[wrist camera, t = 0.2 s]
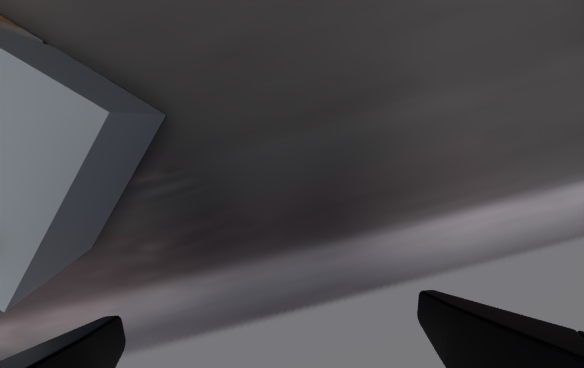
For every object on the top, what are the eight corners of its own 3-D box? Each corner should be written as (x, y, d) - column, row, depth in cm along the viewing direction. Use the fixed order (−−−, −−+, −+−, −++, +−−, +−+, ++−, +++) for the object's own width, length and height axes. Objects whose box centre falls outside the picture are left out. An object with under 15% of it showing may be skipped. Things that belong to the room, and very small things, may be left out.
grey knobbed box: (53, 46, 19) (-108, -10, 11) (166, 115, 20) (99, 111, 12) (-31, 221, 21) (-220, 286, 13) (78, 272, 22) (-30, 359, 14)
